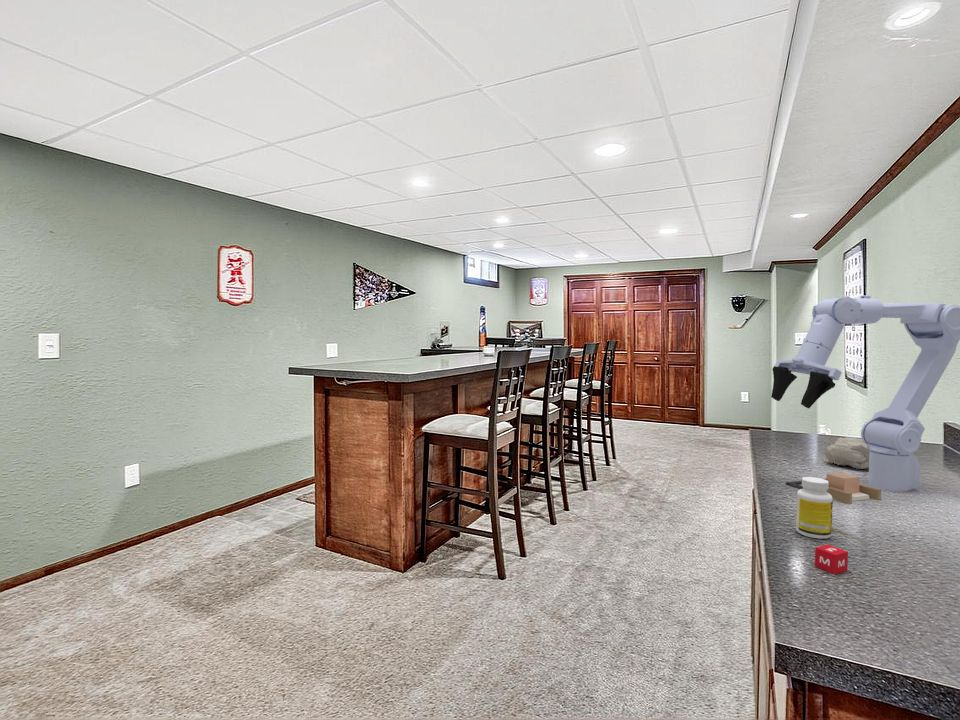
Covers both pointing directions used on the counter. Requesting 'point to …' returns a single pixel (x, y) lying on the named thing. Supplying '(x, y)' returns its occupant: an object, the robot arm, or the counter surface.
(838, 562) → the red letter cube
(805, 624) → the counter surface
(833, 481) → the block
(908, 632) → the counter surface
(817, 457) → the counter surface
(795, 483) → the pit
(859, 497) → the cream low channel
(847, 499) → the track
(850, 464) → the fossil replica
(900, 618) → the counter surface
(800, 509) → the supplement bottle
